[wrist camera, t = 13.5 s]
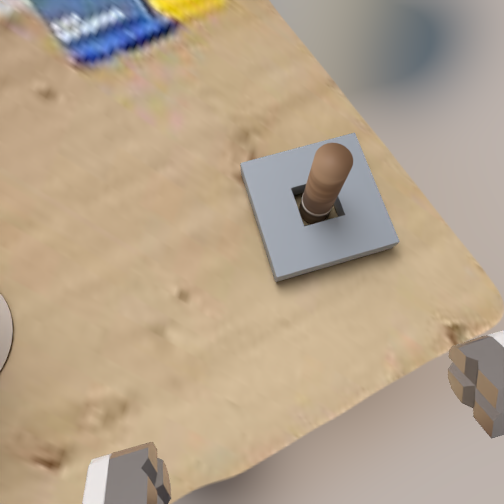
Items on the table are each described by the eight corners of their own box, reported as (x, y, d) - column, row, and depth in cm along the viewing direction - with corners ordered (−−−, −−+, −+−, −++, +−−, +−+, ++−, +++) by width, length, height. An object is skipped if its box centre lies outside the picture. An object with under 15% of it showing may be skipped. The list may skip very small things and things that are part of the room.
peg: (304, 227, 47) (321, 182, 36) (295, 200, 48) (308, 148, 37) (333, 219, 48) (359, 172, 36) (323, 192, 49) (345, 138, 37)
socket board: (275, 282, 46) (276, 277, 43) (241, 173, 49) (240, 163, 47) (392, 248, 47) (399, 241, 44) (349, 143, 50) (354, 132, 48)
